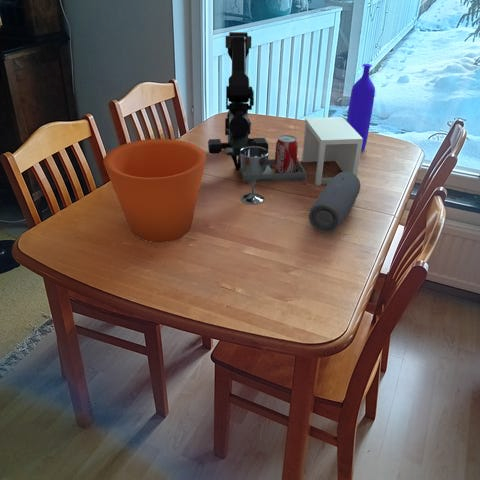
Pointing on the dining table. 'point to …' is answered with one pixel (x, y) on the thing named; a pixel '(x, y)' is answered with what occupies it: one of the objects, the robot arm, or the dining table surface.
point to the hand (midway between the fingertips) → (237, 170)
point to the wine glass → (253, 170)
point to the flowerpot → (157, 185)
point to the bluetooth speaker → (334, 202)
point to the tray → (277, 174)
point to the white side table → (331, 145)
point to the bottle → (361, 105)
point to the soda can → (286, 154)
